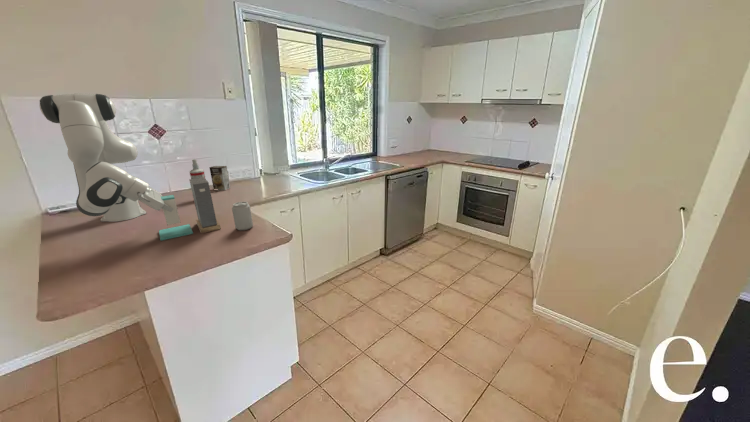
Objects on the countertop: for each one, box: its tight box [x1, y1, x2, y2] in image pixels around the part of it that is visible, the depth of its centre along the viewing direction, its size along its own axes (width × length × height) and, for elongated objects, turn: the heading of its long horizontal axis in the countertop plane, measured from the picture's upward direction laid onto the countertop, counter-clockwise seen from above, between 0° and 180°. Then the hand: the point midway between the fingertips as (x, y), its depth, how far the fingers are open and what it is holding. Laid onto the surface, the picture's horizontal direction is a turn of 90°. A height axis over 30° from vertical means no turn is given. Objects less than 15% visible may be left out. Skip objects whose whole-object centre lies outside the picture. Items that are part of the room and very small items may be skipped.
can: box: [231, 201, 254, 231], centre depth 137 cm, size 8×8×12 cm
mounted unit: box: [189, 177, 222, 234], centre depth 138 cm, size 15×8×22 cm, turn 36°
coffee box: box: [209, 165, 231, 191], centre depth 208 cm, size 9×6×16 cm
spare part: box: [161, 194, 181, 226], centre depth 131 cm, size 5×5×12 cm
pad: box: [158, 223, 194, 241], centre depth 135 cm, size 12×12×1 cm
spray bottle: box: [188, 158, 206, 179], centre depth 182 cm, size 8×8×25 cm
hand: (171, 208), depth 131 cm, fingers closed on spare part, 5 cm apart
